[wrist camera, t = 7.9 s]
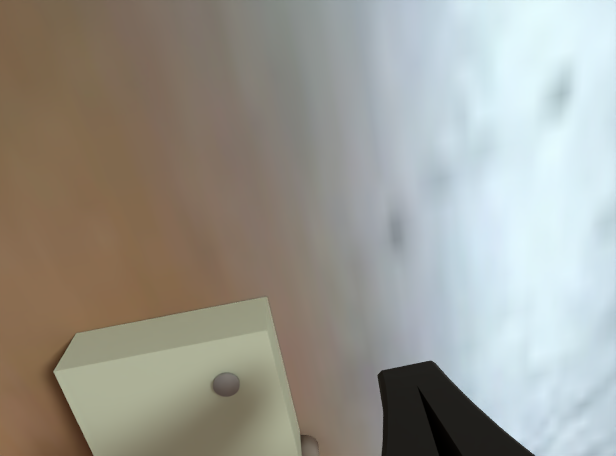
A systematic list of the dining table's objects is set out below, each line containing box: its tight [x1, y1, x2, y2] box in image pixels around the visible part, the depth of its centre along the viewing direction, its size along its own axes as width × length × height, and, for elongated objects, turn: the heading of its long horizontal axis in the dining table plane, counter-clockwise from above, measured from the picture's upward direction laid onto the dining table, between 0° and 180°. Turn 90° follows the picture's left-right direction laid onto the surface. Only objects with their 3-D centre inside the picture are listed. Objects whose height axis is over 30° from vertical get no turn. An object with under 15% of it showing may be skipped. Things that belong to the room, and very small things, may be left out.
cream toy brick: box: [53, 297, 302, 456], centre depth 21 cm, size 8×8×3 cm
